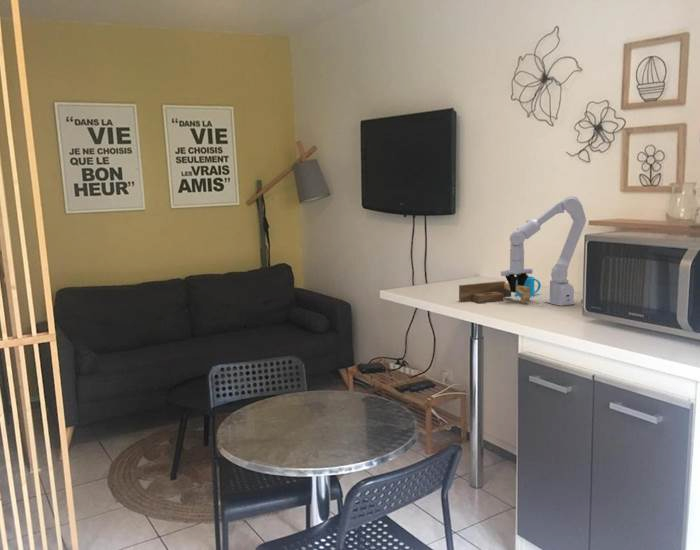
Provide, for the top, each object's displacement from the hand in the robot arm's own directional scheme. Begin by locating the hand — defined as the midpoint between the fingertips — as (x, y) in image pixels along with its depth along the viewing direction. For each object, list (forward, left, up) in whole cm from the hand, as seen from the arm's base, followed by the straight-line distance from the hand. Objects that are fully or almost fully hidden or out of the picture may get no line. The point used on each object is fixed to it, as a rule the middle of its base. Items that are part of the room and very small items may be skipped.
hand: (516, 291), depth 267 cm
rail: (0, 0, -3) cm, 3 cm away
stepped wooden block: (+6, +10, -4) cm, 13 cm away
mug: (+9, -13, -4) cm, 16 cm away
